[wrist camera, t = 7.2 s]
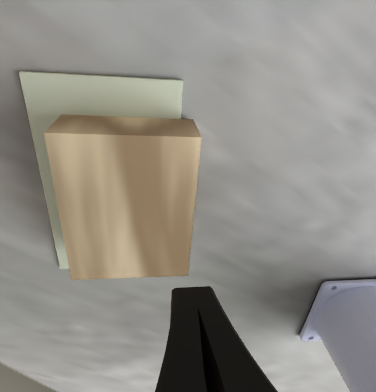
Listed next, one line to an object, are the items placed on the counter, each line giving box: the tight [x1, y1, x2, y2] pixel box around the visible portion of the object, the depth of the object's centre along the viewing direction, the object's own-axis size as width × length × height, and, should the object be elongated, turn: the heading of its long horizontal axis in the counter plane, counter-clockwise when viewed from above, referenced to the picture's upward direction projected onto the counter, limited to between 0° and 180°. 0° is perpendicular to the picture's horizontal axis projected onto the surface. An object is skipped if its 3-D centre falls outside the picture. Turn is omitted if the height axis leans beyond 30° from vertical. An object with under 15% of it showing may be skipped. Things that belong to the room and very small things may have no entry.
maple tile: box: [44, 114, 201, 280], centre depth 17 cm, size 3×9×7 cm
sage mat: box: [19, 71, 183, 269], centre depth 18 cm, size 8×13×1 cm, turn 176°
